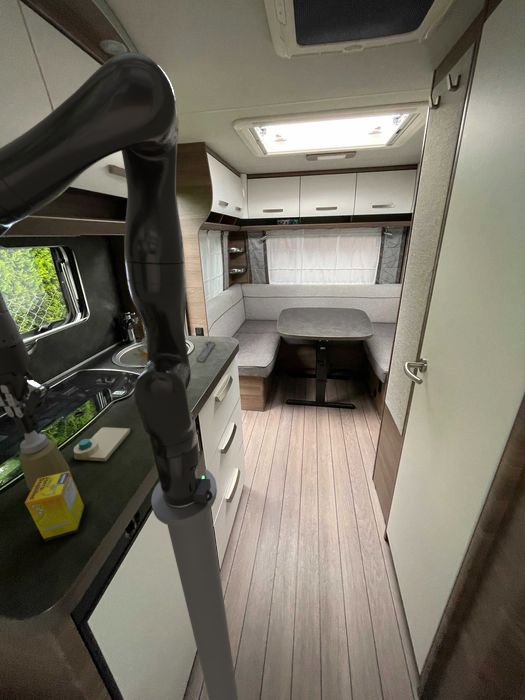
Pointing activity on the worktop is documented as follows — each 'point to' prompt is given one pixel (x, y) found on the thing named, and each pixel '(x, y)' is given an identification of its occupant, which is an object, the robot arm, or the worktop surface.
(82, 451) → the scale
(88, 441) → the button
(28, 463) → the squeeze bottle
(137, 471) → the worktop surface
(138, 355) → the flower vase
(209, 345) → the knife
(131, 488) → the worktop surface
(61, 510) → the supplement box
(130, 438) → the worktop surface
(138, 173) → the robot arm
